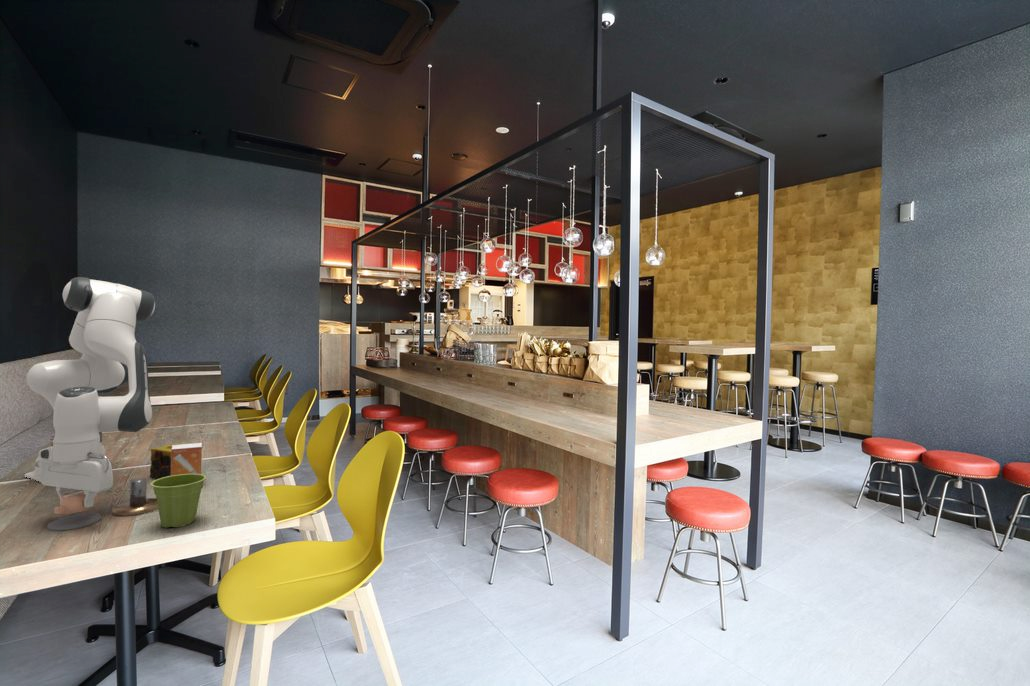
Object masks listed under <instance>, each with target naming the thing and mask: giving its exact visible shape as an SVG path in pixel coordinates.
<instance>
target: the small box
mask: <svg viewBox="0 0 1030 686" xmlns="http://www.w3.org/2000/svg"><path fill="white" fill-rule="evenodd" d="M171 445H172V444H171ZM202 457H203V443H202V442H196V443H195V442H194V443H183V444H182V445H172V450H171V476H173V475H180V474H202V470H203V469H202V462H203V461H202V460H203V459H202Z"/></svg>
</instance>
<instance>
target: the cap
mask: <svg viewBox="0 0 1030 686" xmlns="http://www.w3.org/2000/svg"><path fill="white" fill-rule="evenodd" d="M85 497H86V495H85V494H84V491H83V490H74V491H69V493H66V494H63V495H61V504H60V505H59V506H56V507H54V508H53V514H56V515H60V514H64V515H68V514H69V515H70V514H71V515H73V514H79V513H82V512H85V511H89V510H91V509H92V508H94V507H93V506H94V505H93V506H91V507H88V508H86V507H82V500H84V499H85ZM98 502H99V496H97V495H96V496H95V498H94V504H95V503H98Z"/></svg>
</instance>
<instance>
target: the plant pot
mask: <svg viewBox="0 0 1030 686" xmlns="http://www.w3.org/2000/svg"><path fill="white" fill-rule="evenodd" d="M206 479H207V475H205V474H202V473H201V474H180V475H173V476H167V477H163V478H160V479H154V480H153V481H152V482H150V487H152V489H153V493H154V495H155V497H156V499H157V504H158V509H157V510H158V515H159V519H160V524H161V527H163V528H166V527H167V528H171V527H173V528H180V527H179V526H181V527H183V526H188V525H190V524H192V522H194V521H196V517H197V511H198V507H199V502H200V499H201V498H200V496H201V492H202V489H203V486H204V483H205V480H206ZM187 524H188V525H187Z"/></svg>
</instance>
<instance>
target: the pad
mask: <svg viewBox="0 0 1030 686" xmlns="http://www.w3.org/2000/svg"><path fill="white" fill-rule="evenodd" d="M101 519H102V515H101V514H100V513H95V512H87V513H86V512H85V513H75V514H71V515H67V516H63V517H60V518H57V519H54V520H52V521H51V522H49V523H48V524H47V530H48V531H53V532H65V531H72V529H73V530H77V528H78V529H81V527H82V528H85V527H84V526H86V527H88V525H89V526H91V524H92V525H94V524H96V523H98V522H100V521H101ZM97 521H98V522H97ZM64 530H65V531H64Z"/></svg>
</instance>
